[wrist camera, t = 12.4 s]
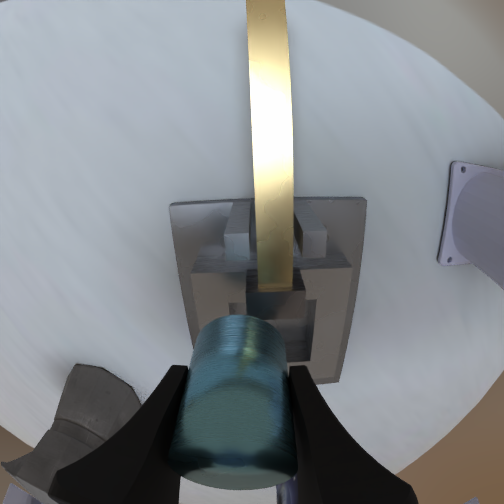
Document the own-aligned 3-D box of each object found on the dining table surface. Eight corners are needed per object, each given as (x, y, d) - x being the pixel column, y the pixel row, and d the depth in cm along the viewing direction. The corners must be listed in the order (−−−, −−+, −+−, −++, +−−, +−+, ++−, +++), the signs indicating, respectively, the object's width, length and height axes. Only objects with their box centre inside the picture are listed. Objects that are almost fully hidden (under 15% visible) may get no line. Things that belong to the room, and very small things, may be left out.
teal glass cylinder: (281, 309, 11) (298, 439, 6) (287, 376, 13) (298, 486, 7) (186, 318, 12) (147, 439, 6) (206, 381, 13) (189, 487, 8)
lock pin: (291, 3, 10) (298, -17, 8) (298, 292, 16) (304, 318, 14) (233, 4, 10) (230, -17, 8) (248, 294, 16) (247, 320, 14)
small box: (292, 456, 30) (298, 523, 21) (337, 454, 31) (348, 517, 21) (273, 480, 35) (275, 534, 25) (311, 480, 35) (317, 531, 25)
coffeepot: (60, 390, 26) (7, 500, 10) (49, 341, 23) (-31, 473, 6) (173, 435, 28) (150, 563, 12) (187, 396, 25) (156, 567, 8)
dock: (362, 197, 17) (408, 229, 11) (336, 375, 23) (351, 430, 18) (172, 203, 17) (135, 238, 12) (203, 381, 24) (194, 437, 18)
